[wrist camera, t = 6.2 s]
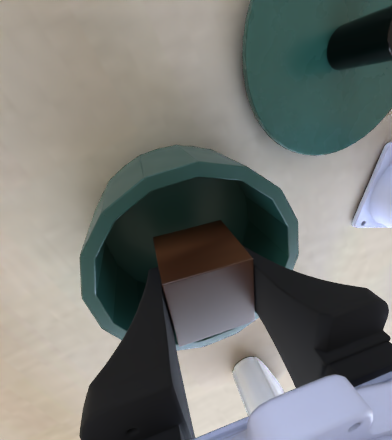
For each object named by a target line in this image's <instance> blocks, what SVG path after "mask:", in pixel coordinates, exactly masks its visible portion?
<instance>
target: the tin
mask: <svg viewBox="0 0 392 440" xmlns="http://www.w3.org/2000/svg"><path fill="white" fill-rule="evenodd" d="M218 220H221V221H222V222H223V223H224V224H225V226H226V227H227V228H228V229H229V230H230V231H231V233H232V234H233V235H234V236H235V237H236V239H237V240H238V241H239V242H240V243H241V245H243V246H244V247H246V248H248V249H250V250H252V251H253V252H255V253H257V254H259V255H260V256H262V257H264V258H266V259H268V260H270V261H272V262H274V263H276V264H279V265H281V266H283V267H285V268H288V269H290V270H293V268H294V265H295V263H296V260H297V258H298V221H297V218H296V216H295V214H294V213H293V211H292V209H291V207H290V205H289V203H288V201H287V199H286V197H285V195H284V194H283V192H282V190H281V189H280V188H279V187H277V186H276V185H274V184H273V183H271V182H270V181H268V180H267V179H265V178H264V177H262V176H261V175H259V174H257V173H256V172H254V171H253V170H251V169H250V168H248V167H246V166H244V165H242V164H240V163H238V162H236V161H234V160H232V159H230V158H228V157H226V156H224V155H222V154H220V153H217V152H215V151H213V150H211V149H204V148H198V147H193V146H182V145H173V146H169V147H164V148H160V149H156V150H153V151H150V152H148V153H145V154H142V155H140V156H138V157H137V158H135V159H134V160H132V161H131V162H130V163H128V164H127V165H125V166H124V167H123V168H122V169H121V170H120V171H119V172H118V173H117V174H116V175H115V176H114V177H113V178H111V179H110V181H109V182H108V184H107V186H106V189H105V191H104V192H103V194H102V197H101V199H100V201H99V203H98V205H97V207H96V209H95V212H94V215H93V218H92V221H91V224H90V227H89V230H88V233H87V236H86V239H85V242H84V245H83V248H82V251H81V254H80V275H81V295H82V299H83V301H84V302H85V304H86V305H87V307H88V308H89V310H90V311H91V313H92V314H93V316H94V317H95V319H96V320H97V322H98V324H99V325H100V327H101V328H102V329H103V330H105V331H107V332H109V333H110V334H112V335H114V336H116V337H117V338H119V339H121V340H122V339H123V338H124V336H125V334H126V332H127V330H128V329H129V327H130V325H131V323H132V321H133V319H134V316H135V314H136V312H137V309H138V307H139V304H140V301H141V299H142V296H143V293H144V289H145V286H146V282H147V277H148V271H149V269H152V268H155V267H158V263H157V257H156V252H155V247H154V242H153V237H155V236H159V235H163V234H167V233H171V232H175V231H179V230H183V229H187V228H191V227H195V226H199V225H203V224H206V223H210V222H214V221H218ZM257 318H259V316H258V314H257V313H256V311H255V320H256V319H257ZM251 323H252V322H251ZM249 324H250V323H248V324H245V325H242V326H240V327H237V328H234V329H231V330H228V331H225V332H222V333H219V334H216V335H213V336H210V337H207V338H204V339H202V340H199V341H196V342H193V343H190V344H187V345H184V346H181V347H179V345H178V342H177V338H176V334H175V331H174V335H175V344H176V351H177V350H185V349H192V348H200V347H203V346H204V347H205V346H207V345H210V344H212V343H215V342H217V341H219V340H222V339H224V338H227V337H229V336H232V335H234V334H236V333H238V332H240V331H241V330H242V329H244V328H245V327H246V326H248V325H249Z"/></svg>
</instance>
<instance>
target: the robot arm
mask: <svg viewBox="0 0 392 440" xmlns="http://www.w3.org/2000/svg"><path fill="white" fill-rule="evenodd" d="M352 225H353V226H354V227H356V228H369V227H390V228H392V142H389V143H387V144H386V145H385V147H384V149H383V151H382V153H381V156H380V158H379V160H378V163H377V165H376V167H375V170H374V172H373V174H372V177H371V179H370V181H369V184H368V186H367V188H366V191H365V193H364V195H363V198H362V200H361V203H360V205H359V207H358V210H357V212H356V214H355V217H354V219H353V221H352ZM242 246H243V245H242ZM243 247H244V246H243ZM244 248H245V249H246V251H247V252H248V253H249V254H250V255H251V257H252V258H253V267H254V300H255V311H256V313H257V314H258V316H259V317H260V319H261V320H262V322H263V324H264V325H265V327H266V329H267V331H268V333H269V335H270V336H271V338H272V340H273V342H274V344H275V346H276V348H277V350H278V352H279V354H280V356H281V358H282V360H283V362H284V364H285V366H286V368H287V370H288V372H289V374H290V376H291V378H292V380H293V382H294V385H295V387H296V389H293V390H291V391H288V392H286V393H284V394H281V395H279V396H276V397H274V398H271V399H269V400H268V401H266V402H264V403H262V404H260V405H259V406H258V407H257V408H256V409H255V410H254V411H253V412H252V413H251V414H250V416H248V417H246V418H243V419H241V420H238V421H236V422H233V423H231V424H229V425H226V426H224V427H221V428H219V429H217V430H214V431H212V432H209V433H207V434H205V435H202V436H200V437H197V438H195V436H194V431H193V426H192V422H191V417H190V413H189V408H188V404H187V399H186V394H185V390H184V385H183V380H182V376H181V371H180V366H179V361H178V357H177V351H176V344H175V335H174V327H173V324H172V320H171V316H170V313H169V309H168V306H167V302H166V299H165V295H164V291H163V288H162V284H161V278H160V273H159V268H158V267H155V268H152V269H149V271H148V277H147V282H146V286H145V289H144V293H143V296H142V299H141V301H140V304H139V307H138V309H137V312H136V314H135V316H134V319H133V321H132V323H131V325H130V327H129V329H128V330H127V332H126V334H125V336H124V338H123V339H122V341H121V343H120V344H119V346H118V347H117V349H116V350H115V352H114V353H113V355H112V356H111V358H110V359H109V361H108V362H107V364H106V365H105V366H104V368H103V369H102V370H101V371H100V373H99V374H98V375H97V377H96V378H95V379H94V380H93V382H92V383H91V384H90V386H89V389H88V392H87V396H86V400H85V403H84V407H83V413H82V420H81V427H80V438H81V440H392V344H391V343H390V342H389V341H390V339H391V338H390V336H389V335H388V334H386V333H385V332H384V331H383V328H384V325H385V323H386V320H387V317H388V313H389V309H388V305H387V303H386V302H385V301H384V300H382V299H381V298H380V297H378V296H377V295H376V294H374V293H373V292H372V291H370V290H369V289H367V288H363V287H356V286H350V285H343V284H338V283H334V282H329V281H325V280H321V279H317V278H314V277H310V276H307V275H304V274H301V273H298V272H296V271H293V270H290V269H288V268H285V267H283V266H281V265H279V264H276V263H274V262H272V261H270V260H268V259H266V258H264V257H262V256H260V255H259V254H257V253H255V252H253V251H252V250H250V249H248V248H246V247H244Z"/></svg>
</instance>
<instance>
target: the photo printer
mask: <svg viewBox="0 0 392 440" xmlns="http://www.w3.org/2000/svg"><path fill="white" fill-rule="evenodd" d="M232 373H233V377H234V380H235V383H236V386H237V388H238V391H239V394H240V396H241V399H242V402H243V404H244V407H245V410H246V412H247V415H248V416H250V414H251V413H252V412H253V411H254V410H255V409H256V408H257V407H258V406H259V405H260V404H262V403H264V402H266V401H268V400H269V399H271V398H274V397H276V396H279V395H281V394H284V393H285V392H284V390H283V389H282V387H281V385H280V384H279V382H278V381H277V379H276V378H275V377H274V375H273V374H272V373H271V371H270V370H269V369H268V368H267V367H266V365H265V364H264V363H263V362H262V361H261V360H260V359H259V358H257V357H254V358H253V357H247V358H245V359H243V360H241V361H240V362H239V363H237V364H236V366H235V367H234V370H233V371H232Z"/></svg>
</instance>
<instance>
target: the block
mask: <svg viewBox="0 0 392 440" xmlns="http://www.w3.org/2000/svg"><path fill="white" fill-rule="evenodd" d="M153 242H154V247H155V252H156V257H157V263H158V268H159V273H160V278H161V284H162V288H163V291H164V295H165V299H166V302H167V306H168V309H169V313H170V316H171V320H172V324H173V327H174V331H175V334H176V338H177V342H178V345H179V347H181V346H184V345H187V344H190V343H193V342H196V341H199V340H202V339H204V338H207V337H210V336H213V335H216V334H219V333H222V332H225V331H228V330H231V329H234V328H237V327H240V326H242V325H245V324H248V323H251V322H254V321H255V300H254V267H253V258H252V257H251V255H250V254H249V253H248V252H247V251H246V249H245V248H244V247H243V246H242V245H241V243H240V242H239V241H238V240H237V239H236V237H235V236H234V235H233V234H232V233H231V231H230V230H229V229H228V228H227V227H226V226H225V224H224V223H223V222H222V221H221V220H218V221H214V222H210V223H206V224H203V225H199V226H195V227H191V228H187V229H183V230H179V231H175V232H171V233H167V234H163V235H159V236H155V237H153Z"/></svg>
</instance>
